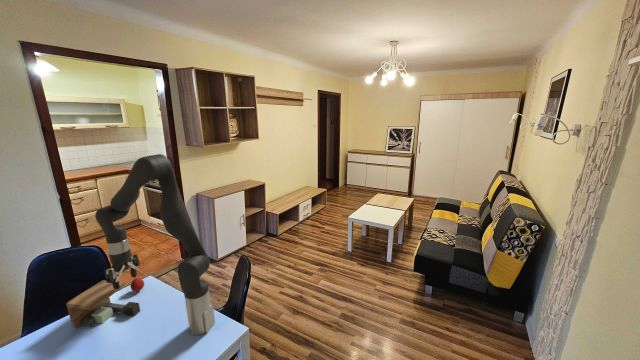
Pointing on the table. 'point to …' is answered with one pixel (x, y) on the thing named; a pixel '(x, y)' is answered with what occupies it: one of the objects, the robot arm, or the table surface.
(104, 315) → the block
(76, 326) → the walnut shelf
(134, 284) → the red rounded piece
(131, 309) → the mallet
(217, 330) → the table surface
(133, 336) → the table surface
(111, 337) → the table surface
